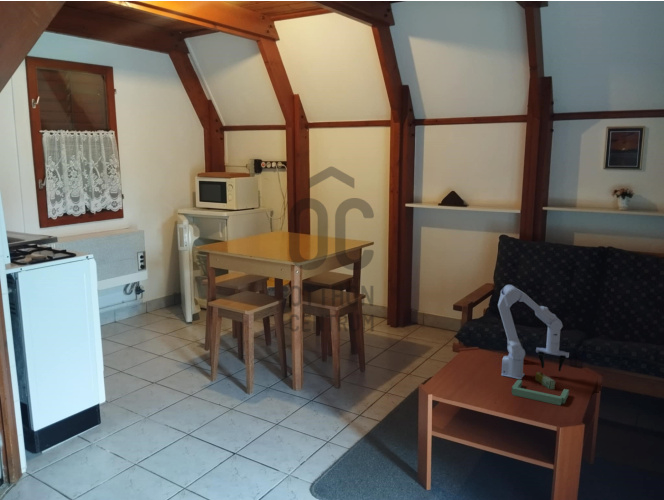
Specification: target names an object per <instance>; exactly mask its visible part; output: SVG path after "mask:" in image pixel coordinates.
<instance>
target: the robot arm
mask: <svg viewBox="0 0 664 500" xmlns="http://www.w3.org/2000/svg"><path fill="white" fill-rule="evenodd" d="M516 302H520V303H521V302H523V303H524V304H526V305H527V306H528V307H529V308H531V309H532V310H533V311H534V314H535V315H534V316H535V317H537V318H538V319H539V320H540V321H542V322H543V323H544V324H546V326H547V332H546V346H545V347H536V349H535V352H536V353H537V357H538V358H539V361H540V365H541V369H544V368H545V358H546V356H545V355H546V354H547V355H552V356H557V357H558V358H559V360H558V362H559V363H558V372H561V370H562V367H563V364H564V362H565V360H566V359H568V358H569V356H570V352H566V351H564V350H560V342H561V340H560V338H561V329H562V328H563V327H564V325H563V322H562V321H561V319H559V318H558V316H557V315H556V314H555V313H552V312H551V311H550V310H549V307H547V306H544V305H539V304H538V303H536V302H535V301H534V300H533V299H532V298H531V297H529V295H528V294H527V293H525V292H523V291H522V290H520V289H518V287H516V286H514V285H513V284H506V285H505V286H504V287H502V289H501V290H500V296H499V299H498V303H497V308H498V311H499V314H500V317H501V322H502V324H503V325H502V326H503V328H504V332H505V335H506V336H505V337H506V338H507V340H506V342H507V352H508V355H504V356H503V358H502V361H501V374H500V375H501V376H502V377H507V378H512V379H517V380H522V379H523V377H524V376H525V375H526V374H525V373H523V372H524V359H525V357H526V350H525V349H524V348H523V346H522V347H521V344H520V341H519V339H520V338H519V337H518V333H517V329H516V326H515V323H514V318H513V315H512V312H511V307H512V305H513V304H515V303H516ZM518 338H519V339H518Z"/></svg>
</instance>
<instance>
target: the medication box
mask: <svg viewBox="0 0 664 500" xmlns="http://www.w3.org/2000/svg"><path fill="white" fill-rule="evenodd" d="M534 379H535V382H537V383H539V384H541V385H542V386H544V387H545V388H546V389H548V390H555V389H556V388H555V387H556V386H555V385H556V380H554V379H552V378H551V377H549V376H547V375H546V374H545V373H543V372H537V371H536V373H535V378H534Z"/></svg>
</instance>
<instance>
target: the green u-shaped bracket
mask: <svg viewBox="0 0 664 500" xmlns="http://www.w3.org/2000/svg"><path fill="white" fill-rule="evenodd" d="M522 386H523V380H522V379H517V380H515V382H514V384H513V385H512V386H511V393H512V396H515V397H519V398H520V397H521V398H525V399H529V400H533V401H538V402H542V403H548V404H552V405H553V404H554V405H557V406H562V405H565V403H566V401H567V400H568V397H569V395H570V394H569V393H570V392H569V391H570V389H565V388H564V389H563V390H562V391H561V394H560V395H555V394H551V393H546V392H542V391H537V390H532V389H527V388H524V387H522Z"/></svg>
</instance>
